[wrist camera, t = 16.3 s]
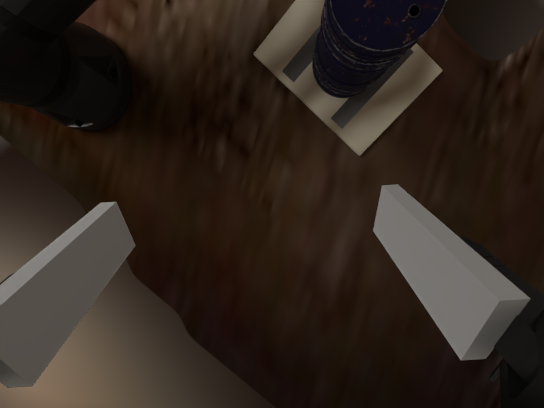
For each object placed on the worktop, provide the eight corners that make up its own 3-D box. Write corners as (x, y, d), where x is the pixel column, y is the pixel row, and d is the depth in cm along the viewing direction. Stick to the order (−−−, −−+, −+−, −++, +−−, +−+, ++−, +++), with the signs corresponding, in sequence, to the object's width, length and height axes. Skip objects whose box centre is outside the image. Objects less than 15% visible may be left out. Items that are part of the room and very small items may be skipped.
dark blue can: (297, 68, 35) (303, -2, 20) (343, 8, 33) (387, -117, 18) (347, 113, 35) (390, 78, 20) (396, 57, 33) (480, -27, 19)
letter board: (254, 55, 35) (253, 53, 35) (330, -41, 32) (330, -45, 32) (358, 155, 37) (359, 155, 36) (440, 71, 34) (442, 70, 33)
